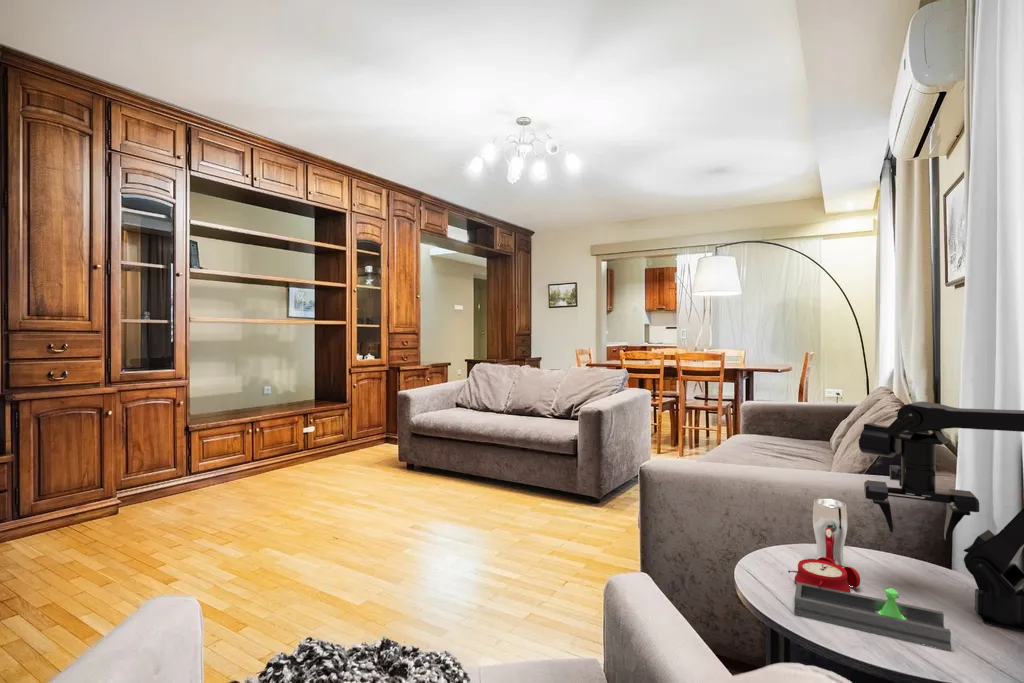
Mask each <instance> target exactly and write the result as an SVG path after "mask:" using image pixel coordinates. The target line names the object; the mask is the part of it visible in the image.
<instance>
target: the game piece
mask: <svg viewBox="0 0 1024 683" xmlns="http://www.w3.org/2000/svg"><path fill="white" fill-rule="evenodd" d="M884 593H885V597H886V598H887V601H886V603H885V605H884V606H883V608H882V610H880V611H878V614H881V615H885V616H890V617H895V618H899V619H904V620H906V619H905V618H904V616H903V615H902V614H901V613H900V611H899V608H898V606H897V604H896V602H897V601H896V600H898V599H899V598H900V595H899V593H898V590H896V589H894V588H891V587H890V588H887V589H884Z"/></svg>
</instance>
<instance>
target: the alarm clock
mask: <svg viewBox="0 0 1024 683" xmlns="http://www.w3.org/2000/svg"><path fill="white" fill-rule="evenodd" d="M842 567H845V568H842ZM787 572H788V573H796V574H795V576H794V582H795V583H797V582H800V583H805V584H810V585H815V586H819V587H824V588H829V589H834V590H839V591H844V592H849V593H851V592H852V591H851V589H857V588H858V587H859V586H860V585H861V577H860V574H859V572H858V571H857V570H856V569H855V568H853V567H851V566H846V565H845V566H842V565H837V564H835V563H834V562H833V561H832V560H831V559H829V558H826V557H821V558H818V559H816V558H806V559H805V558H804V559H802V560H799V561H798V563H797V570H790V569H789V570H788V571H787ZM849 585H850V586H853V588H850V586H849Z"/></svg>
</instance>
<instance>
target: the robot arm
mask: <svg viewBox="0 0 1024 683" xmlns="http://www.w3.org/2000/svg"><path fill="white" fill-rule="evenodd" d="M896 414H897V415H896V419H895V420H894V421H893V422H892V423H891V424H889V425H888V426H887V425H880V424H876V423H872V422H867V423H864V424H863V429H862V431H861V433H860V437H859V439H858V447H859V450H860V452H861V453H863V454H868V455H874V456H880V457H886V458H890V459H892V458H894V457H895V456H896V455H900V454H901V457H900V459H901V461H900V464H901V465H895V464H894V465H893V464H890V465H889V480H891V481H898V484H899V487H900V488H899V487H892V486H888V485H887V483H886V481H879V480H869V479H867V480H865V481H864V482H863V492H864V497H865V499H867V500H872V503H873V504H875V505H878V506H879V508H880V509H881V512H882V514H883V516H884V518H885V520H886V524H887V526H888V529H889V532H890V533H893V532H894V524H893V518H892V511H891V503H890V500H889V497H893V498H903V499H911V500H919V501H928V502H936V503H937V502H938V503H944V504H946V515H945V522H944V529H943V530H944V531H943V534H944V535H943V537H944V541H949V539H950V537H951V536H952V534H953V532H954V530H955V528H956V526H957V525H958V523H960V522H961V520H962V519H963V518H964V517H965V516H971V513H979V512H980V500H979V499H978V498H977V496H976V495H975V494H974V493H973V492H971V491H970V490H962V489H953V488H952V489H951V488H949V489H948V493H945V492H937V490H936V485H937V484H936V482H937V481H936V460H937V459H936V457H937V456H936V447H937V446H936V445H938V446H943V445H945V444H947V443H949V439H948V438H946V437H945V436H943V435H942V434H941V433H940V430H946V429H965V430H966V429H968V430H969V429H970V430H985V431H986V430H987V431H1001V432H1002V431H1004V432H1005V431H1006V432H1019V433H1020V432H1021V433H1022V432H1023V433H1024V410H1022V409H1021V410H1020V409H990V408H960V407H954V406H949V405H945V404H943V403H941V404H940V403H936V402H935V403H933V402H929V401H916V402H912V403H908V404H904V405H902V406H901V407H900V408H899V409H898V411H897V413H896ZM938 430H939V431H938ZM929 431H932V433H926V432H929ZM907 432H913V433H912V434H910V435H909V434H903V433H907ZM924 432H925V433H924ZM1023 549H1024V507H1023V508H1021V510H1020V511H1019V512H1018V513H1017V514H1016V515H1015V516H1014V517H1013V518H1012V519H1011V520H1010V521H1009V522H1008V523H1007V524H1006V525H1005V526H1004V527H1003V528H1002V529H1001V530H1000V531H999V532H998V533H997V534H994V533H993V532H992V531H991V530H990V529H987V530H985V531H984V532H982V533H981V534H979V535H978V536H976V538H975V539H974V541H973V543H972V544H971V545H969V546H967V547H966V548H964V549H963V552H965V553H966V554H965V555H964V557H963V563H964V565H965V568H966V570H967V571H968V572H969V573H970V574H971V576H973V579H974V581H975V583H976V586H977V588H975V589H974V610H975V612H976V614H977V615H978V616H979V617H980V619H981V621H982V623H984V624H986V625H989V626H990V625H991V626H996V627H1000V628H1005V629H1010V630H1013V631H1019V632H1024V590H1023V589H1024V571H1023V570H1022V568H1021V567H1019V566H1018V564H1016V562H1017V561H1018V560H1019V558H1020V556H1021V554H1022V551H1023Z"/></svg>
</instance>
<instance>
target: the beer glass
mask: <svg viewBox="0 0 1024 683" xmlns="http://www.w3.org/2000/svg"><path fill="white" fill-rule="evenodd" d="M847 512H848V510H847V504H846V503H845V502H843V501H841V500H838V499H834V498H828V497H821V498H815V499H814V500H813V509H812V526H813V531H814V538H815V542H816V555H815V559H818V558H821V557H826V558H829V559H831V560H832V561H833V562H834V563H835V564H837V565H842V566H845V567H846V564H845V558H844V548H845V544H846V537H847V533H848V513H847ZM845 567H842V568H845Z"/></svg>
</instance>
